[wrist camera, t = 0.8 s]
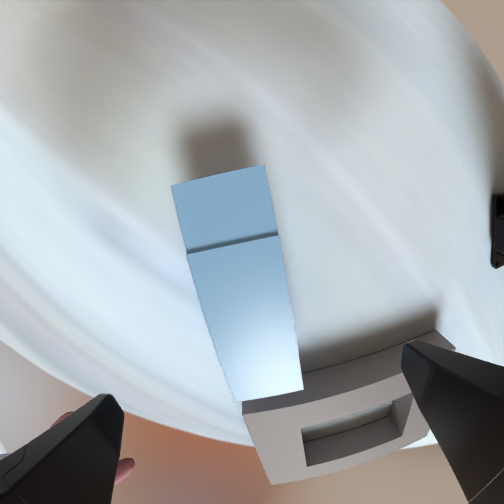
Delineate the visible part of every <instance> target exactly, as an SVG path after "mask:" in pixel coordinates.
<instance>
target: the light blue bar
mask: <svg viewBox="0 0 504 504" xmlns="http://www.w3.org/2000/svg"><path fill="white" fill-rule="evenodd" d="M171 189H172V194H173V198H174V203H175V207H176V211H177V215H178V220H179V224H180V228H181V232H182V236H183V240H184V243H185V247H186V251H187V254H186V256H187V259H188V263H189V267H190V270H191V274H192V277H193V281H194V284H195V288H196V291H197V295H198V298H199V301H200V305H201V308H202V311H203V314H204V318H205V321H206V324H207V327H208V330H209V333H210V336H211V339H212V342H213V345H214V348H215V351H216V354H217V357H218V360H219V363H220V366H222V369H223V372H224V374H225V377H226V380H227V383H228V385H229V388H230V391H231V394H232V396H233V399H234V402H239V401H246V400H252V399H259V398H264V397H270V396H275V395H281V394H286V393H290V392H295V391H299V390H304V388H303V381H302V374H301V367H300V361H299V354H298V352H299V351H298V345H297V338H296V332H295V326H294V319H293V313H292V307H291V301H290V295H289V289H288V283H287V278H286V272H285V266H284V261H283V255H282V250H281V244H280V239H279V235H278V230H277V225H276V220H275V215H274V210H273V205H272V200H271V194H270V190H269V185H268V180H267V175H266V170H265V165H259V166H254V167H249V168H244V169H239V170H234V171H230V172H225V173H221V174H216V175H212V176H208V177H204V178H200V179H195V180H191V181H188V182H184V183H180V184H176V185H172V186H171Z"/></svg>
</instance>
